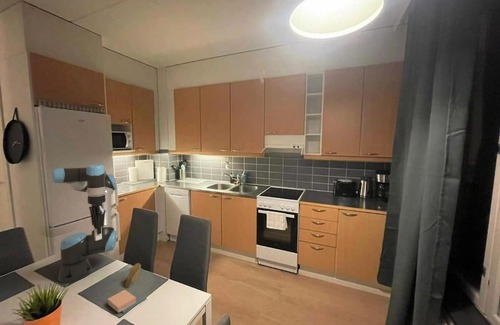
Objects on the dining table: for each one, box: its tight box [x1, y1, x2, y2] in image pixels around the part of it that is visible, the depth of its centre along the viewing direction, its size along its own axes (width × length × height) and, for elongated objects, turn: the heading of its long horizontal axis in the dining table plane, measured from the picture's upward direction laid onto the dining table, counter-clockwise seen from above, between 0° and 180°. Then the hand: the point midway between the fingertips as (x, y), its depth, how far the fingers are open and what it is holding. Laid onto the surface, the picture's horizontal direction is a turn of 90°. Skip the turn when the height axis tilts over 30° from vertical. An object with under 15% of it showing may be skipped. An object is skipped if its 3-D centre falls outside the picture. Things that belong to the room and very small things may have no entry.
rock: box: [124, 262, 142, 289], centre depth 120 cm, size 11×9×10 cm
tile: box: [107, 289, 136, 313], centre depth 103 cm, size 2×8×10 cm
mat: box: [120, 290, 147, 314], centre depth 105 cm, size 10×11×1 cm
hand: (98, 239), depth 113 cm, fingers closed
